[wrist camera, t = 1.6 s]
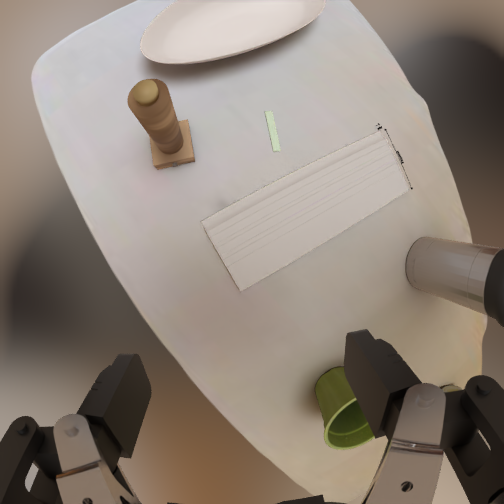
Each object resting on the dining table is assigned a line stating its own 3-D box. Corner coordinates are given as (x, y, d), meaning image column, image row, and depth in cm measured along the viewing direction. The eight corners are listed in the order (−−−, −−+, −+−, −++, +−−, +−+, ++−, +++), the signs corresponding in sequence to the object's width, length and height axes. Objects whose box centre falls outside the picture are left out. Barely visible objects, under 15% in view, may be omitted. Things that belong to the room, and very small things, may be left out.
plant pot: (297, 366, 41) (323, 408, 30) (363, 345, 42) (401, 377, 31) (303, 417, 42) (324, 460, 31) (362, 397, 44) (392, 431, 33)
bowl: (281, -16, 32) (290, -36, 26) (334, 34, 35) (349, 16, 29) (129, 47, 30) (120, 26, 24) (177, 109, 33) (172, 91, 27)
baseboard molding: (195, 212, 36) (239, 288, 38) (194, 211, 33) (242, 294, 36) (373, 123, 38) (403, 190, 40) (383, 119, 35) (414, 189, 38)
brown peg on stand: (189, 126, 34) (175, 55, 16) (195, 164, 35) (184, 116, 17) (152, 134, 33) (111, 72, 15) (158, 172, 34) (114, 134, 16)
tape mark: (271, 111, 35) (271, 110, 35) (280, 150, 36) (280, 150, 36) (264, 111, 35) (265, 111, 35) (273, 151, 36) (273, 151, 36)
